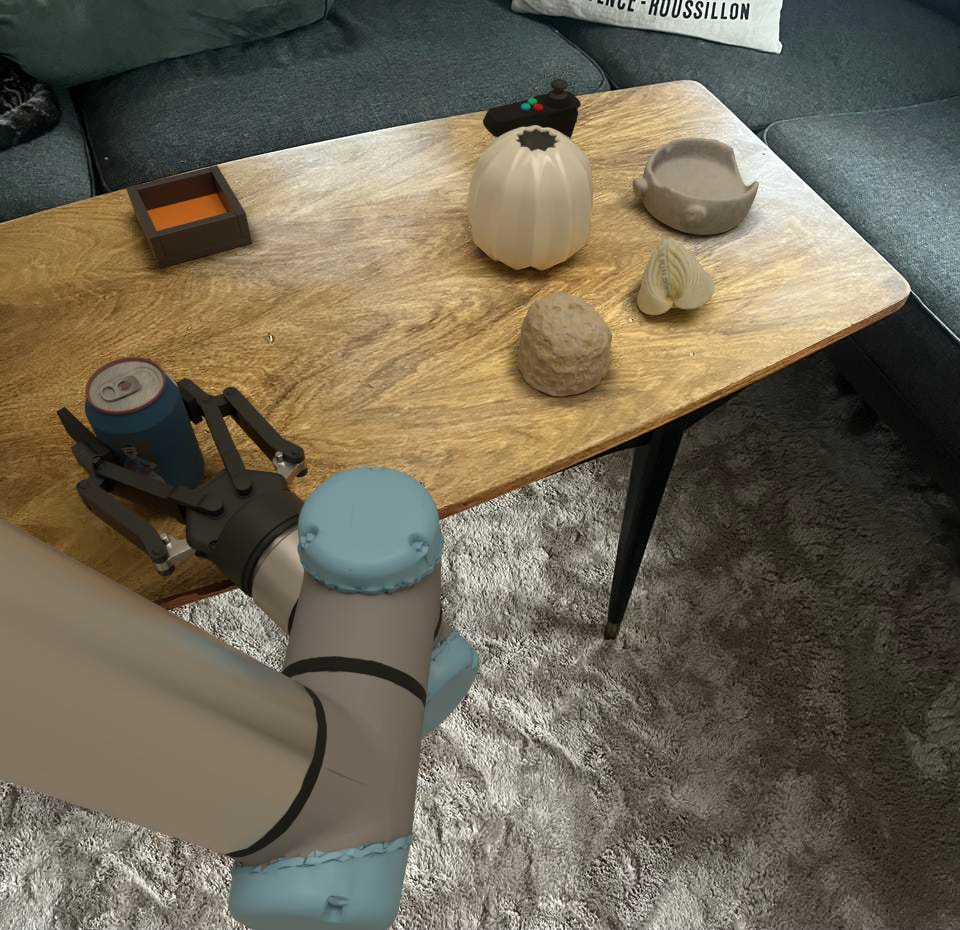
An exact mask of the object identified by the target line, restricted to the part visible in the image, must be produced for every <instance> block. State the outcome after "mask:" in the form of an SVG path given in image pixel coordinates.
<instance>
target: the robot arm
mask: <svg viewBox="0 0 960 930" xmlns="http://www.w3.org/2000/svg"><path fill="white" fill-rule="evenodd" d="M147 359H149V360H151V361H153V360H152V359H150V358H149V357H148V358H147ZM163 371H164V372H165V373H167V372H166V371H165V370H163ZM174 381H175V382H176V384H177V386H178V389H179V391H180V394H181V397H182V400H183V402H184V405H185V408H186V411H187V413H188V416H189V419H190V422H191V423H193V425H194V426H197V425H198V424H200V423H201V422H203V421H204V420H205V422H206V426H207V428H208V430H209V432H210V435H211V437H212V440H213V442H214V444H215V447H216V449H217V452H218V454H219V456H220V459H221V462H222V464H223V466H224V468H223V469H221V470H220V471H218V472H217V473H216V474H214V476H213V477H212V478H211V479H210V480H209V481H208V482H205V483H202V484H199V485H198V487H197V488H195V489H194V490H192V489H189V488H186V487H184V486H181V485H177V486H176V487H175V486H172V485H169V484H166V483H164V482H161V481H158V480H156V479H153V478H150V477H148V476H145V475H142V474H140V473H137V472H134V471H132V470H129V469H126V468H124V467H121V466H118V464H117V462H116V460H115V458H114V456H113V454H112V452H111V451H110V450H109V449H108V448H107V447H106V446H105V445H104V444H103V443H102V442H101V441H100V440H99V439H98V438H97V437H96V435H95V433H94V432H92V431H91V430H90V429H89V428H88V427H86V426H85V425H84V424H83V423H82V422H81V420H79V418H77V417H76V416H75V415H74V414H73V413H72V412H71V411H70V410H69V409H68V408H67V407H66V406H63V407H62V408H59V409H58V410H56V411H55V413H56V415H57V416H58V419H59V420H60V423H61V424H62V426H63V428H64V430H65V431H66V433H67V435H68V436H69V437H70V438H71V439H72V440H73V441H74V442H75V444H73V445H72V446H70V448H71V453H72V455H73V456H74V458H75V459H76V461H77V464H78V465H79V466H81V468H82V469H84V471H85V472H86V473H87V474H89V476H88V477H87V478H85V479H81V480H79V481H78V482H77V483H76V484H75V490H76V492H77V494H78V495H79V496H80V499H81V500H82V502H83V504H84V505H85V508H86V509H87V510H88V511H89V512H90V513H92V514H93V515H94V516H96V517H97V518H98V519H100V520H101V521H102V522H103V523H105V524H106V525H108V526H109V527H110V528H112V529H113V530H114V531H115V532H117V533H118V534H119V535H121V536H122V537H123V538H124V539H126V540H127V541H129V542H130V543H131V544H133V545H134V546H135V547H136V548H138V549H139V550H140V551H141V552H143V553H144V554H145V555H147V556H148V557H149V558H150V560H151V562H152V564H153V566H154V568H155V570H156V571H157V574H158V575H159V576H160V577H164V578H165V577H170V576H171V575H172V574H174V572H175V571H176V566H175V565H176V564H178V563H181V562H183V561H184V560H187V559H189V558H191V557H193V556H195V557H196V558H198V559H203V560H207V561H208V562H211V564H213V565H214V566H215V567H216V568H217V569H218V570H219V571H221V573H222V574H224V575H225V576H226V577H227V578H228V579H229V581H231V582H232V583H233V584H234V585H235V586H236V587H237V588H238V589H239V590H240V591H241V592H242V593H243V594H244V595H246V596H247V597H248V598H251V599H252V600H253V602H254V604H255V605H256V606H257V607H258V608H259V609H260V610H261V611H262V612H263V613H264V614H265V615H266V616H267V617H268V618H269V619H270V620H271V621H272V622H273V623H274V624H276V625H277V626H278V628H279V629H281V631H282V632H284V633H285V634H286V635H287V636H288V638H289V639H288V642H287V646H286V651H285V654H284V659H283V664H282V668H281V672H280V671H278V670H276V669H275V668H273V667H271V666H269V665H267V664H266V663H264V662H262V661H260V660H258V659H256V658H254V657H253V656H252V655H249V654H248V653H246V652H244V651H242V650H240V649H239V648H237V647H235V646H234V645H231V644H229V643H227V642H226V641H224V640H222V639H220V638H219V637H216V636H214V635H213V634H211V633H210V632H207V631H206V630H204V629H203V628H200V627H199V626H196V625H195V624H193V623H191V622H189V621H187V620H186V619H184V618H182V617H181V616H180V615H179V616H178V615H177V614H175V613H174V612H171V611H170V610H168V609H166V608H164V607H162V606H161V605H159V604H157V603H155V602H153V601H152V600H149V599H148V598H146V597H144V596H142V595H140V594H139V593H137V592H135V591H134V590H132V589H130V588H128V587H126V586H124V585H122V584H120V583H119V582H117V581H115V580H113V578H110V577H108V576H106V575H105V574H103V573H101V572H99V571H97V570H95V569H93V568H92V567H90V566H88V565H86V564H85V563H83V562H81V561H79V560H77V559H75V558H73V557H72V556H70V555H68V554H66V553H64V552H63V551H61V550H60V549H58V548H56V547H54V546H52V545H50V544H49V543H46V542H45V541H43V540H41V539H39V538H37V537H35V536H34V535H32V534H30V533H28V532H27V531H25V530H23V529H21V528H19V527H17V526H16V525H14V524H12V523H10V522H9V521H7V520H5V519H4V518H1V517H0V780H2V781H4V782H6V783H10V784H13V785H16V786H19V787H22V788H25V789H28V790H31V791H33V792H37V793H40V794H43V795H45V796H49V797H52V798H55V799H57V800H61V801H64V802H67V803H69V804H73V805H76V806H79V807H82V808H85V809H88V810H91V811H94V812H97V813H100V814H103V815H105V816H109V817H111V818H115V819H118V820H120V821H122V822H123V821H124V822H127V823H129V824H133V825H136V826H139V827H142V828H145V829H147V830H150V831H153V832H157V833H159V834H163V835H166V836H169V837H172V838H175V839H178V840H181V841H184V842H186V843H188V844H189V843H190V844H192V845H195V846H199V847H202V848H204V849H208V850H211V851H214V852H216V853H218V854H220V855H224V856H227V857H228V858H230V859H232V860H233V861H234V863H232V868H231V869H230V870H229V872H228V873H229V874H230V876H231V879H230V880H231V881H230V886H229V894H228V899H227V907H228V911H229V914H230V915H231V917H232V919H234V920H235V921H236V922H237V923H238V924H240V925H243V926H245V927H246V928H248V929H250V930H389V929H390V928H391V927H392V925H393V924H394V923H395V921H396V918H397V917H398V914H399V911H400V906H401V905H400V904H401V899H402V893H403V886H404V881H405V876H406V871H407V865H408V861H409V855H410V850H411V846H412V845H413V843H414V842H413V840H414V833H413V827H414V818H415V806H416V798H417V788H418V779H419V768H420V758H421V750H422V749H421V748H422V739H423V738H424V737H426V736H428V735H429V734H430V733H432V732H433V731H435V730H436V729H438V727H439V726H441V724H443V722H444V721H446V719H447V718H448V717H449V716H451V714H452V713H454V711H455V710H456V709H457V708H458V706H459V705H460V703H462V701H463V700H464V698H465V697H466V696H467V694H468V692H469V691H470V689H471V688H472V686H473V684H474V682H475V680H476V678H477V675H478V672H479V668H480V657H479V654H478V652H477V651H476V649H475V648H474V647H473V646H472V645H471V644H470V643H469V642H468V641H467V640H466V639H465V638H464V637H463V636H462V635H461V634H460V630H459V629H458V628H456V627H452V626H450V625H449V623H447V622H446V621H445V620H444V619H443V605H442V604H443V603H442V599H441V597H442V596H441V591H442V558H443V549H444V544H445V537H444V534H443V533H441V522H440V514H439V510H438V506H437V505H436V502H435V500H434V498H433V497H432V495H431V494H430V493H431V492H429V491H428V489H427V488H426V487H425V486H424V485H422V483H420V482H419V481H418V480H417V479H415V478H414V477H412V476H411V475H409V474H407V473H405V472H403V471H400V470H397V469H394V468H390V467H382V466H358V467H353V468H349V469H345V470H342V471H340V472H338V473H335V474H334V475H331V476H330V477H328V478H327V479H325V480H323V481H322V482H321V483H319V484H318V485H317V486H316V487H315V488H314V489H313V490H312V492H311V493H310V494H309V496H308V497H307V498H306V499H305V501H304V500H303V499H302V498H301V497H300V496H299V495H297V494H296V493H295V492H293V491H291V490H290V487H289V485H290V484H291V483H292V482H293V480H295V478H304V477H305V476H307V475H308V473H309V468H308V464H307V459H306V454H305V453H306V452H305V450H304V448H303V447H302V446H300V445H299V444H296V443H293V442H291V441H289V440H288V439H286V438H283V437H282V435H281V434H280V433H279V432H278V431H277V429H275V428H274V427H273V425H271V424H270V422H268V420H267V419H266V418H265V417H264V416H263V415H262V414H261V412H259V411H258V409H257V408H256V407H255V406H253V404H252V403H251V402H250V401H249V400H248V399H247V398H246V397H245V396H244V395H243V393H242V392H241V391H240V390H239V389H238V388H237V387H236V386H228V387H226V388H224V389H223V391H222V393H220V394H216V395H212V394H210V393H209V394H208V393H207V392H205V390H203V389H202V388H201V387H200V386H199V385H197V384H196V383H195V382H194V381H193V380H192V379H190V378H188V377H183V378H181V379H180V380H178V381H176V380H175V379H174ZM226 417H230V418H231V419H232V420H233V421H234V422H235V423H236V424H237V425H238V427H239V428H240V429H241V430H242V431H243V432H244V433H245V434H246V435H247V437H248V438H249V439H250V440H251V441H252V443H254V444H255V445H256V446H257V447H258V449H259V450H260V451H261V452H262V453H263V454H264V455H265V457H266V458H267V459H268V460H269V461H270V462H271V463H272V465H273V468H274V471H275V472H274V471H267V470H256V469H247V468H246V466H245V464H244V462H243V459H242V457H241V455H240V452H239V450H238V449H237V447H236V444H235V442H234V440H233V437H232V435H231V433H230V431H229V428H228V425H227V423H226V421H225V418H226ZM116 497H118V498H121V499H122V500H126V501H129V502H131V503H134V504H137V505H138V506H142V507H144V508H147V509H149V510H152V511H155V512H156V513H161V515H164V516H168V517H169V518H173V519H174V520H175V521H177V522H178V524H181V525H182V526H185V538H183V539H177V538H176V537H174V536H173V535H171V534H168V532H161V533H160V534H159V532H158V530H157V529H156V528H155V527H154V526H153V525H152V524H151V523H150V522H148V521H147V520H145V519H144V518H143V517H141V516H140V515H139V514H138V513H136V512H134V510H132V509H131V508H129V507H128V506H126V504H124V503H123V502H121V501H120V500H118V499H117V498H116Z"/></svg>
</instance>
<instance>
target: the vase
mask: <svg viewBox="0 0 960 930" xmlns="http://www.w3.org/2000/svg"><path fill="white" fill-rule="evenodd" d="M474 165H475V166H474V168H473V171H472V173H471V178H470V183H469V187H468V193H467V200H466V203H467V204H466V213H467V219H468V223H469V225H470V226H471V236H472V241H473V243H474V244H475V245H476V246H477V247H478V248H479V249H481V251H482V252H483V253H484V254H485V255H487V257H489V258H490V259H491V260H493V261H494V262H501V263H502V264H504V265H506V266H507V267H509V268H511V269H513V270H515V271H519V270H522V269H526V268H529V267H531V268H533V269H535V270H538V271H545V270H548V269H549V268H552V267H554V266H556V265H558V264H561V263H564V262H565V261H567V260H569V259H570V258H571V257H573V256H574V255H575V254H576V253H577V252H579V251H580V250H581V249H582V248H583V247H585V246H586V244H587V242H588V239H589V236H590V232H591V226H592V212H593V211H592V210H593V205H594V179H593V178H594V177H593V169H592V165H591V162H590V160H589V157H588V155H587V154H586V153H585V152H584V151H583V150H582V149H581V148H580V147H579V146H578V145H576V143H575V142H574V140H572V138H571V139H570V138H569V137H567V136H566V135H564V134H562V133H561V132H559V131H557V130H555V129H552V128H549V127H547V128H542V127H541V126H538V125H533V126H529V127H520V128H517V129H514V130H511V131H509V132H507V133H505V134H503V135H501V136H499V137H495V138H494V139H493V140H492V141H491V142H490V145H489V147H488V148H486V149H485V150H484V151H483V152H481V154H480V156H479V158H478V160H477V161H476V162H475V164H474Z"/></svg>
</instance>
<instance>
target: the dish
mask: <svg viewBox="0 0 960 930" xmlns="http://www.w3.org/2000/svg"><path fill="white" fill-rule="evenodd" d="M734 151H735V150H734V147H732V146H731V145H729V144H727V143H724V142H722V141H720V140H718V139H715V138H705V137H685V138H675V139H671V140H670V141H668V143H663V144H661V145H659V146H658V147H657V148H655V150H654V151H653V152H652V153H651V154H650V156H649V157H648V159H647V161H646V164H645V166H644V170H643V175H642V178H639V177H636V178H634V179H633V182H632V191H633V194H634V195H635V197H636V198H637V199H641V201H642V204H643V206H644V207H645V210H646V211H647V212H648V213H649V214H650V215H651V216H652V217H653V218H655V219H656V220H658V221H659V222H660V223H662V224H664V225H666V226H668V227H670V228H672V229H675V230H676V231H680V232H683V233H687V234H692V235H703V236H704V235H706V236H708V235H717V234H719V233H720V234H721V233H724V232H728V231H730V230H733V229H734V228H736V227H737V226H738V225H739V224H740V223H741V222H743V220H744V219H745V218H746V217H747V215H748V213H749V211H750V210H751V208H752V206H753V204H754V201H755V199H756V196H757V194H758V189H759V186H760V182H759V181H758V180H755V181H753V182H752V183H751V184H749V185H746V184H745V182H744V180H743V178H742V176H741V173H740V170H739V166H738V164H737V160H736V155H735V152H734Z"/></svg>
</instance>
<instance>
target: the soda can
mask: <svg viewBox="0 0 960 930" xmlns="http://www.w3.org/2000/svg"><path fill="white" fill-rule="evenodd" d="M149 359H150V358H149ZM149 359H148V358H144V357H139V356H127V357H121V358H117V359H114V360H112V361H109V362H107V363H105V364H103V365H102V366H100V367H99V368H97V370H95V371H94V372H93V373H92V374H91V375H90V377H89V378H88V380H87V381H86V384H85V389H84V391H85V393H84V394H85V397H86V398H85V401H84V413H85V417H86V419H87V421H88V423H89V425H90V427H91V429H92V431H93V434H94V435H95V436H96V437H97V438H98V439H99V440H100V441H101V442H102V443H103V444H104V445H105V446H106V447H107V448H108V449H109V450H110V451H111V452H112V454H113V456H114V458H115V460H116V462H117V464H118V466H121V467H124V468H126V469H129V470H132V471H134V472H137V473H140V474H142V475H145V476H148V477H150V478H153V479H156V480H158V481H161V482H164V483H166V484H169V485H172V486H175V487H176V486H177V485H181V486H184V487H186V488H189V489H192V490H194V489H195V488H197V487H198V486H200V485H201V482H202V481H203V478H204V475H205V471H206V462H205V461H206V460H205V458H204V456H203V453H202V450H201V447H200V444H199V441H198V438H197V435H196V433H195V430H194V428H193V425H192V422H191V421H190V419H189V416H188V413H187V411H186V408H185V405H184V402H183V400H182V397H181V394H180V391H179V389H178V386H177V384H176V382H177V381H176V380H175V379H174V378H173V377H172V376H170V375H169V374H168V372H166V371H165V370H164V369H163V368H162V367H161V366H160V364H158V363H157V362H156V361H153V360H152V359H151V360H152V361H151V360H149ZM164 371H165V372H166V373H165V372H164ZM174 380H175V381H176V382H175V381H174Z"/></svg>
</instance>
